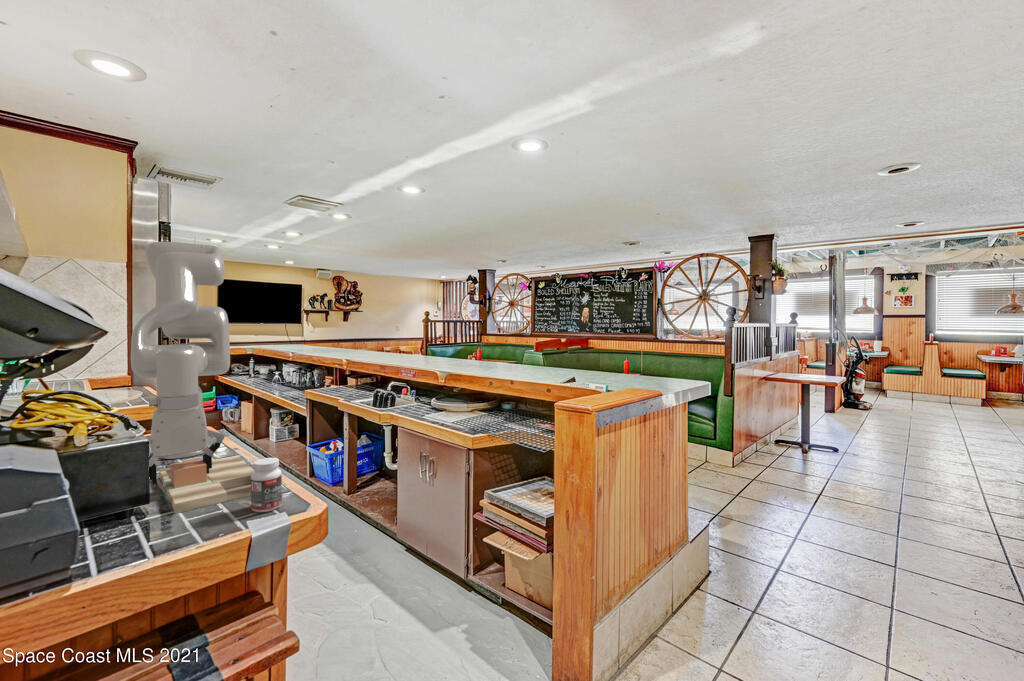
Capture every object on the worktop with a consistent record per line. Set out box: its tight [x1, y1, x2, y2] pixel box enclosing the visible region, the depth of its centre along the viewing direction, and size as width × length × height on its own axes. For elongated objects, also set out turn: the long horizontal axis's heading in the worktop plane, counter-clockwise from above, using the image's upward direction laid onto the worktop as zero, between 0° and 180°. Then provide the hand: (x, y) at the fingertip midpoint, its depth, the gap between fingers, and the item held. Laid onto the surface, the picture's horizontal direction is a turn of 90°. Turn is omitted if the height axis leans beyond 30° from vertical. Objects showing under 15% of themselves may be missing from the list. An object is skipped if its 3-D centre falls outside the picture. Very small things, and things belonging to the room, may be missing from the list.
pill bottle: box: [250, 457, 283, 513], centre depth 94 cm, size 6×6×10 cm
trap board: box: [158, 454, 255, 514], centre depth 107 cm, size 27×17×2 cm, turn 43°
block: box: [169, 457, 207, 489], centre depth 103 cm, size 6×6×4 cm
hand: (180, 477), depth 102 cm, fingers open, 9 cm apart
